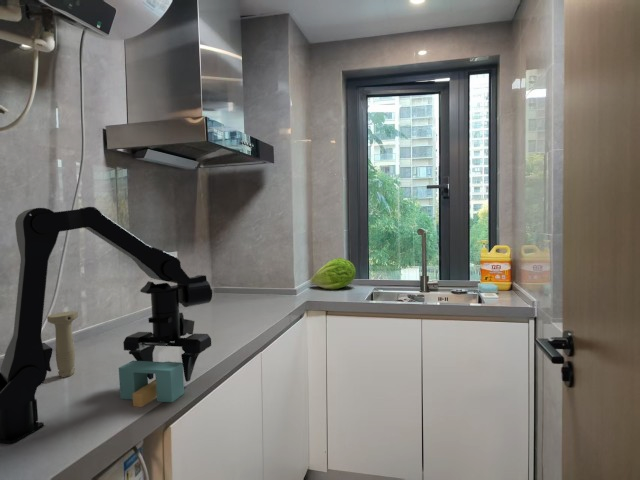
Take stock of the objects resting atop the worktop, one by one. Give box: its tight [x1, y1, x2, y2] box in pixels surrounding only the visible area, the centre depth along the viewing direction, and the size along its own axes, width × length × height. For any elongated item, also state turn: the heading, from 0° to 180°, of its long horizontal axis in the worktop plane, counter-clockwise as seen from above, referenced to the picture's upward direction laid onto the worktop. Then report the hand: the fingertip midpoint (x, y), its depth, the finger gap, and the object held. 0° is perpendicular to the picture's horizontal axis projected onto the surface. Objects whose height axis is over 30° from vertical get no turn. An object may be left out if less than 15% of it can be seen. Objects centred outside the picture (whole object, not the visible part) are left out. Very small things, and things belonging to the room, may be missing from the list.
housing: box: [118, 360, 185, 403], centre depth 89 cm, size 4×12×6 cm, turn 77°
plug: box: [132, 361, 182, 408], centre depth 92 cm, size 14×4×4 cm, turn 166°
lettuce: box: [310, 257, 357, 290], centre depth 218 cm, size 15×25×16 cm
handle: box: [46, 310, 79, 378], centre depth 104 cm, size 5×6×15 cm
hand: (169, 379), depth 96 cm, fingers open, 9 cm apart
